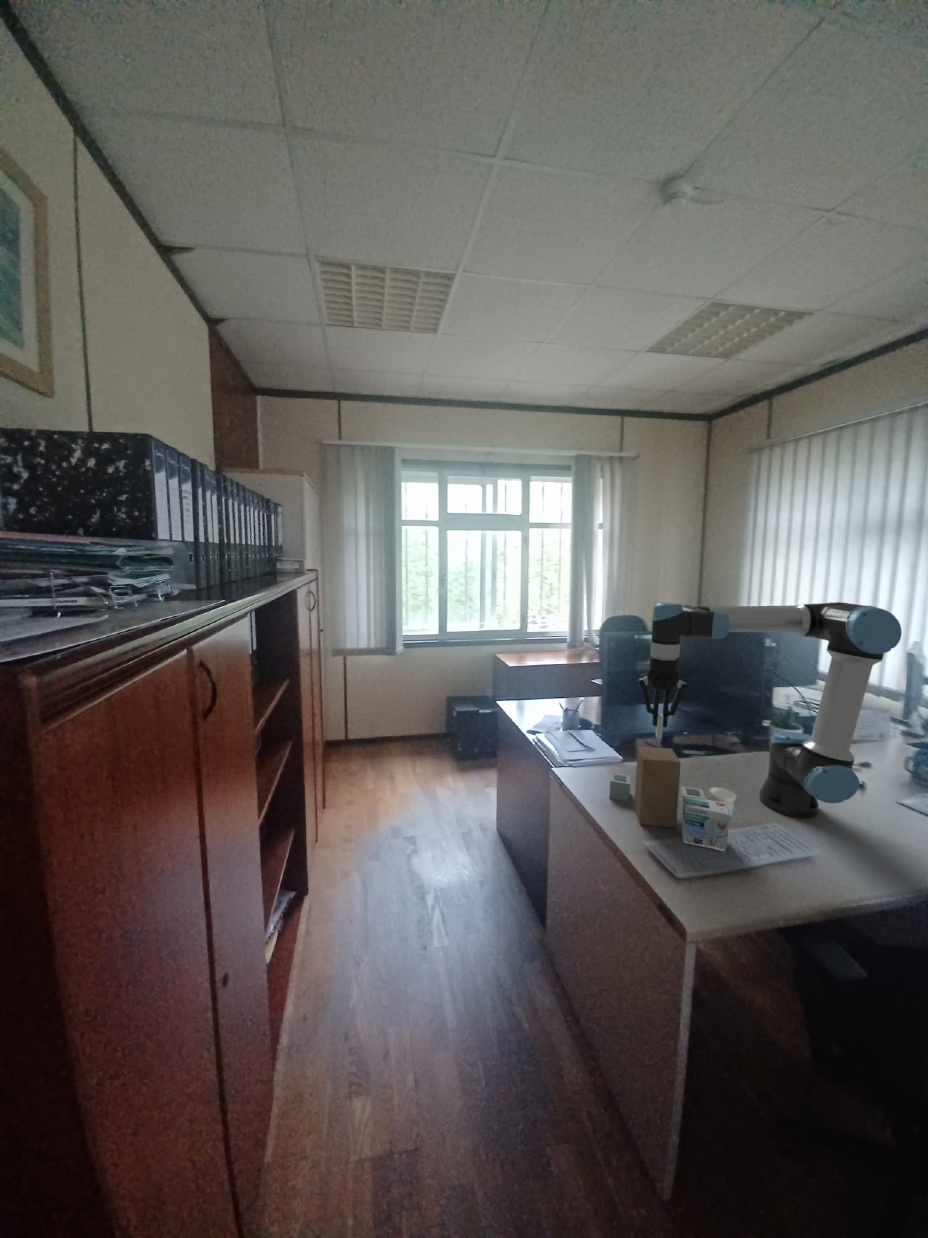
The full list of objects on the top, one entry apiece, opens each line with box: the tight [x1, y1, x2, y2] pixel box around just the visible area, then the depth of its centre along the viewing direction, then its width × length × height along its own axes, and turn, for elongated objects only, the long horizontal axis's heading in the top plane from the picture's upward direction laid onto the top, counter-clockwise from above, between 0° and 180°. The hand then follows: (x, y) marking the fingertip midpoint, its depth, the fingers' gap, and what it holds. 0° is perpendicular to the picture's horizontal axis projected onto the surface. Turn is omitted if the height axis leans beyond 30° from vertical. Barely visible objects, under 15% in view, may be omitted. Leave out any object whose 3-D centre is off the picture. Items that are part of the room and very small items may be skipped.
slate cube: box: [609, 772, 631, 802], centre depth 149 cm, size 6×6×6 cm
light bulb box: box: [681, 796, 730, 850], centre depth 125 cm, size 11×7×11 cm, turn 68°
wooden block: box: [633, 745, 681, 829], centre depth 136 cm, size 10×10×20 cm
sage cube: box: [679, 785, 706, 815], centre depth 140 cm, size 6×6×6 cm
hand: (658, 736), depth 134 cm, fingers closed
